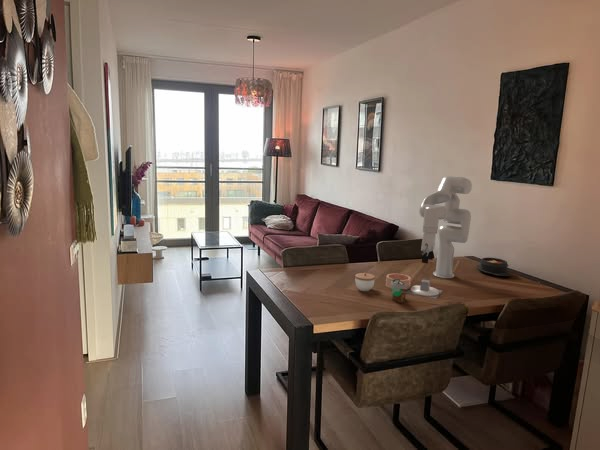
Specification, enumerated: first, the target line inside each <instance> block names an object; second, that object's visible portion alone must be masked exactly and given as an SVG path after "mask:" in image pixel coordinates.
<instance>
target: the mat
mask: <svg viewBox="0 0 600 450" xmlns="http://www.w3.org/2000/svg"><path fill="white" fill-rule="evenodd" d="M413 286H417V284H416V285H415V284H414V285H413ZM410 289H411V287H410V288H409V289H407V290H406V294H410V295H415V296H420V297H426V298H429V299H435V300H437V298H438V297H439V296H440V295H441V294H442V293H443V292H444V290H441V289H437V288H436V289H437V290H439V294H438V295H436V296H422V295H418V294H415V293H413V292H411V290H410Z"/></svg>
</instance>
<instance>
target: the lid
mask: <svg viewBox="0 0 600 450" xmlns="http://www.w3.org/2000/svg"><path fill="white" fill-rule="evenodd" d="M416 285H417V284H416ZM410 288H411V289H410ZM410 288H409V289H410V290H411V292H413V293H415V294H418V295H417V296H419V295H422V296H421V297H424V296H436V295H438V294H439V290H440V289H438V290H437V288H436V287H432V286H431V280H427V279H422V280H421V281H420V285H417V286H414V285H412V286H410ZM415 294H414V295H415Z"/></svg>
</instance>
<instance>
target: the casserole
mask: <svg viewBox="0 0 600 450" xmlns="http://www.w3.org/2000/svg"><path fill="white" fill-rule="evenodd" d="M479 263H480V264H475V267H476V268H477V270H479V271H480V272H483V273H485V274H488V275H492V276H500V277H509V276H512V273H510V272H509V270H508V269H507V268H508V267H509V264H508V261H507V260H505V259H501V258H497V257H483V258H481V260H480V261H479Z"/></svg>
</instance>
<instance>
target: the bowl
mask: <svg viewBox="0 0 600 450" xmlns="http://www.w3.org/2000/svg"><path fill="white" fill-rule="evenodd" d="M396 278H400V281H401V282H403V283H404V285H407V289H406V291H408V290H409V289H410V288H411V283H412V282H411V279H412V278H411V276H409V275H408V274H403V273H388V274H387V275H386V278H385V286H386V287H387V288H388V289H391V290H392V286H391V282H392V280H393V279H396Z"/></svg>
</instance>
